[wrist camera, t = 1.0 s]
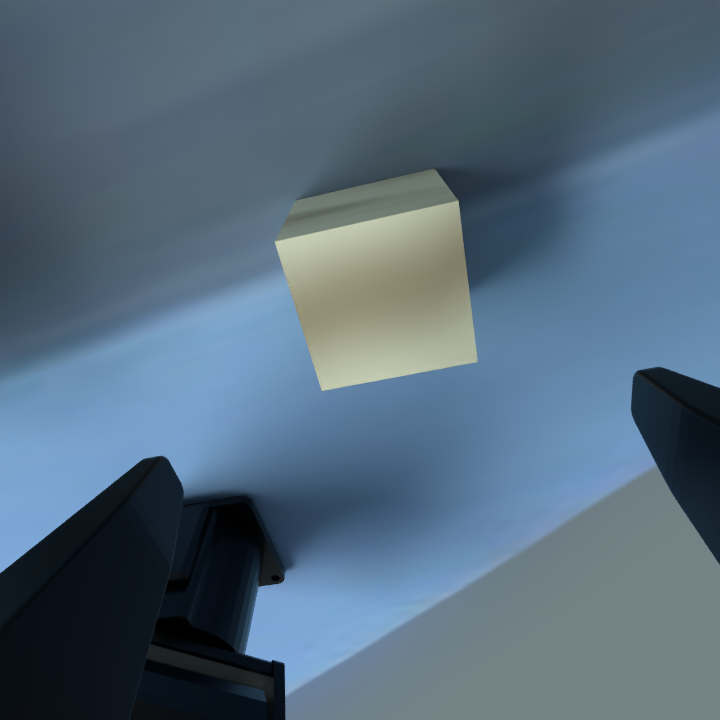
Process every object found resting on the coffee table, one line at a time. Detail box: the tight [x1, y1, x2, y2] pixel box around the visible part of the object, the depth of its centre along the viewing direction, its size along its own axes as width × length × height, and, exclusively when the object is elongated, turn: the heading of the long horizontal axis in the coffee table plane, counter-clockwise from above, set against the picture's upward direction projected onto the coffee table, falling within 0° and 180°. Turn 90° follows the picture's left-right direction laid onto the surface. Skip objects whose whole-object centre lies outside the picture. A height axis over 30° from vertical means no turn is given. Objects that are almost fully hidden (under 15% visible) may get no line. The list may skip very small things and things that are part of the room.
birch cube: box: [275, 168, 478, 391], centre depth 17 cm, size 5×5×5 cm
